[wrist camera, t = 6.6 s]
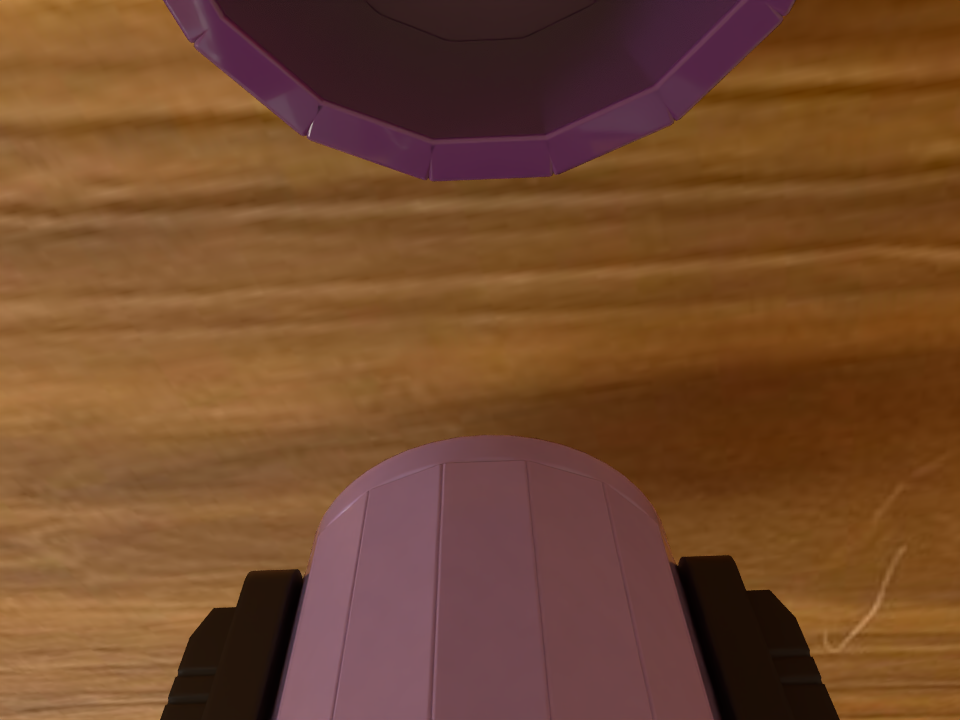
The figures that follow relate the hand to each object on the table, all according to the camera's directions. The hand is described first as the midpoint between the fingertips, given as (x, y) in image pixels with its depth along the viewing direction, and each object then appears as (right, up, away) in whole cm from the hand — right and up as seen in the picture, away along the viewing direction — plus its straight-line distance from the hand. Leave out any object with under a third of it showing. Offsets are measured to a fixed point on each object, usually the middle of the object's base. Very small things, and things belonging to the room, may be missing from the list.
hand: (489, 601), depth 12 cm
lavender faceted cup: (0, 0, +1) cm, 1 cm away
